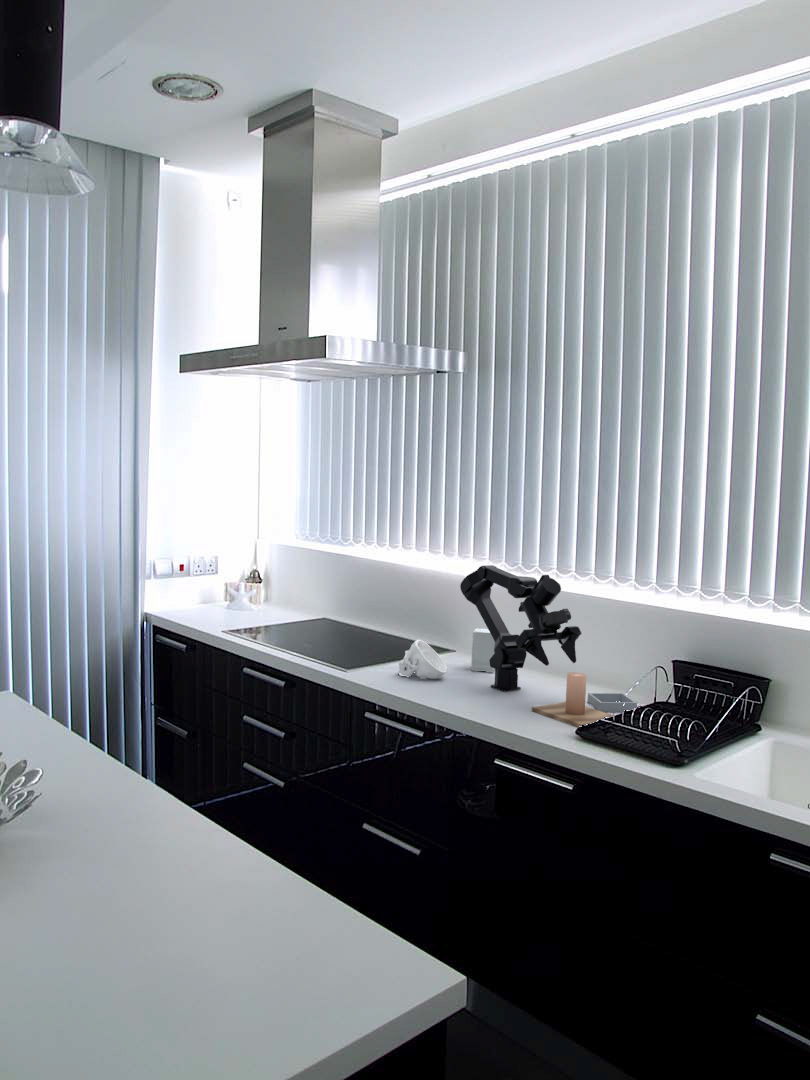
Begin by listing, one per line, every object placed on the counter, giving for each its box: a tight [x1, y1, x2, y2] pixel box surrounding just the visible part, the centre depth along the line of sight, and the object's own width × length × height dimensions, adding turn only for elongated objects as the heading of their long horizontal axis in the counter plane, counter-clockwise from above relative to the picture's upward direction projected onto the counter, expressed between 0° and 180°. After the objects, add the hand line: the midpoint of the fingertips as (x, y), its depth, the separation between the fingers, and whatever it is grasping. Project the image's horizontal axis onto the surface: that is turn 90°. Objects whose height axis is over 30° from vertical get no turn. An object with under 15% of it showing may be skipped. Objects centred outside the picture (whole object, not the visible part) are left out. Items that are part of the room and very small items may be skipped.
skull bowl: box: [398, 639, 448, 680], centre depth 279 cm, size 10×14×12 cm
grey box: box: [586, 692, 638, 713], centre depth 252 cm, size 10×10×2 cm
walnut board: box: [531, 701, 615, 728], centre depth 242 cm, size 18×14×1 cm
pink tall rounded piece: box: [565, 671, 588, 715], centre depth 241 cm, size 5×5×10 cm
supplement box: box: [470, 628, 495, 673], centre depth 292 cm, size 7×7×13 cm
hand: (561, 663), depth 246 cm, fingers open, 9 cm apart
